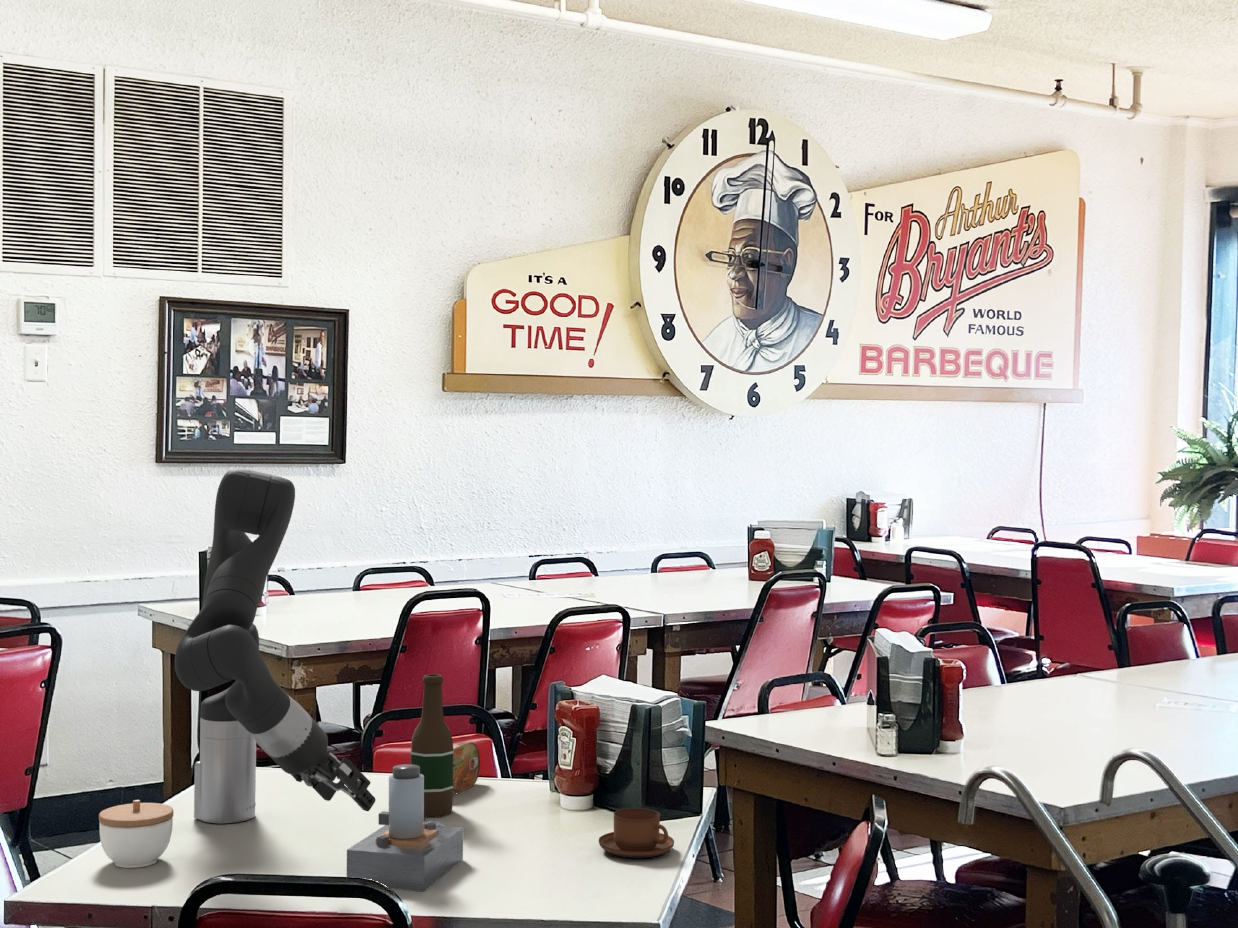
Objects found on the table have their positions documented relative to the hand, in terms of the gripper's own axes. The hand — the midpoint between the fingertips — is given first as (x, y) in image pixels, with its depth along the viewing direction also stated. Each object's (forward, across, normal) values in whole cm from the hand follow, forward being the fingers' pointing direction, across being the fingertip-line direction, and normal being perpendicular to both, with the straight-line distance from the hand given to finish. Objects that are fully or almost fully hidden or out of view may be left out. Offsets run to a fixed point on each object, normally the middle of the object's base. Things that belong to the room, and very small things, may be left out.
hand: (350, 800), depth 198 cm
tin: (+45, +30, -26) cm, 60 cm away
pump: (+12, 0, -2) cm, 12 cm away
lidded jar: (0, +34, +18) cm, 38 cm away
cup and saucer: (+39, -20, -20) cm, 48 cm away
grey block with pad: (+18, +1, 0) cm, 18 cm away
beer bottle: (+35, +22, -17) cm, 44 cm away
